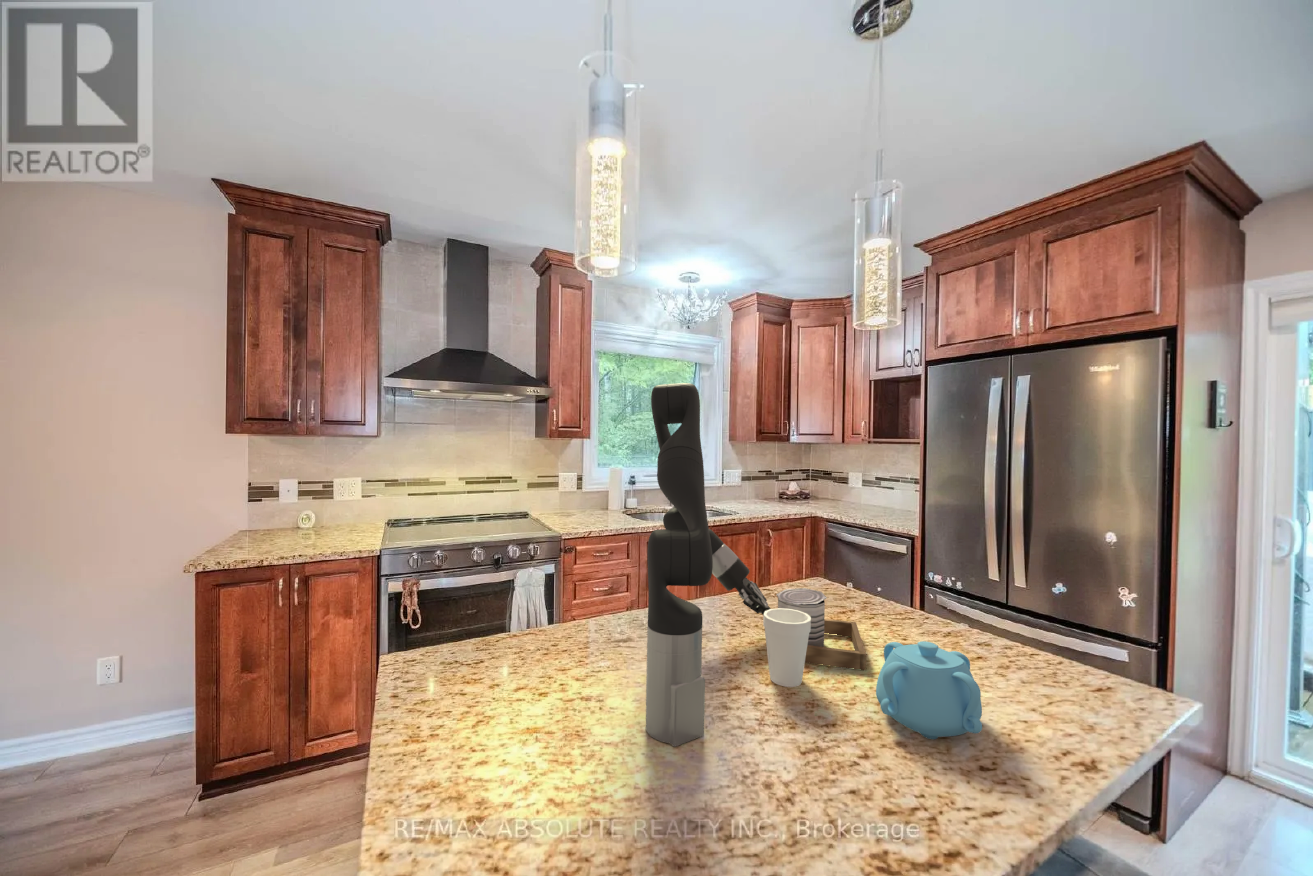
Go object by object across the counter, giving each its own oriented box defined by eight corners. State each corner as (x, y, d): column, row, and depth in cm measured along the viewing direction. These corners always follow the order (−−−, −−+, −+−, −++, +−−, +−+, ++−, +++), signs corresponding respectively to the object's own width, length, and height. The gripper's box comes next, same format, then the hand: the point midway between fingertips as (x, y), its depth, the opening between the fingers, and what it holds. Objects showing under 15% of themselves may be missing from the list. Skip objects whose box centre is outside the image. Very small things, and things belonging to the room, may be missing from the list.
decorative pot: (882, 690, 100) (883, 621, 101) (979, 713, 92) (979, 638, 92) (870, 730, 86) (871, 649, 87) (982, 761, 78) (983, 672, 78)
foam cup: (805, 671, 108) (806, 609, 108) (814, 692, 99) (815, 625, 99) (760, 668, 109) (761, 607, 109) (764, 688, 100) (766, 622, 100)
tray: (770, 658, 114) (771, 642, 114) (775, 626, 134) (775, 613, 134) (865, 670, 109) (866, 654, 109) (855, 636, 128) (856, 622, 128)
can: (832, 653, 117) (833, 601, 118) (784, 653, 117) (785, 601, 117) (814, 634, 129) (815, 587, 129) (770, 634, 128) (771, 586, 128)
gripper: (734, 563, 120) (786, 621, 117) (740, 551, 133) (787, 603, 130) (711, 583, 122) (762, 641, 119) (719, 570, 135) (765, 621, 131)
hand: (775, 621), depth 124 cm, fingers closed
